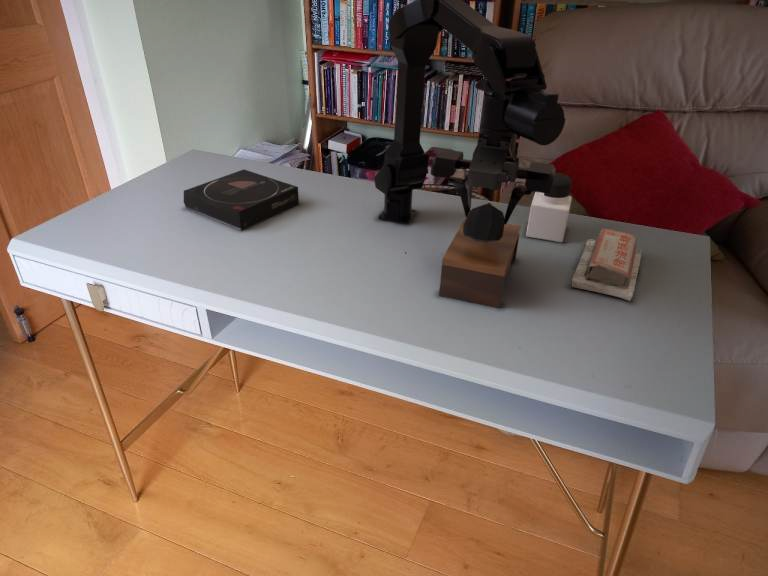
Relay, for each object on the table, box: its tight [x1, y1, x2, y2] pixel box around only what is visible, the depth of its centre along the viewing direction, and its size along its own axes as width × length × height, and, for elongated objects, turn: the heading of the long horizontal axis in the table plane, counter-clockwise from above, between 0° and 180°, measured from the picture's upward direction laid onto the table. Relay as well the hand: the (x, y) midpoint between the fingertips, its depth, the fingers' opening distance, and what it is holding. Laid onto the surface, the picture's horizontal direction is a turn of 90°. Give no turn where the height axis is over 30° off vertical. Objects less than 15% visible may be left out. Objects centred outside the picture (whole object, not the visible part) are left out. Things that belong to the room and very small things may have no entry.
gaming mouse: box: [463, 202, 505, 242], centre depth 96 cm, size 6×15×4 cm, turn 165°
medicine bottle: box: [525, 172, 573, 243], centre depth 115 cm, size 7×7×12 cm
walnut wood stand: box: [438, 216, 522, 309], centre depth 101 cm, size 17×10×7 cm, turn 161°
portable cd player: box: [183, 168, 300, 231], centre depth 124 cm, size 16×17×4 cm
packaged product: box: [571, 228, 643, 302], centre depth 104 cm, size 18×5×10 cm
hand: (486, 220), depth 97 cm, fingers closed on gaming mouse, 6 cm apart
